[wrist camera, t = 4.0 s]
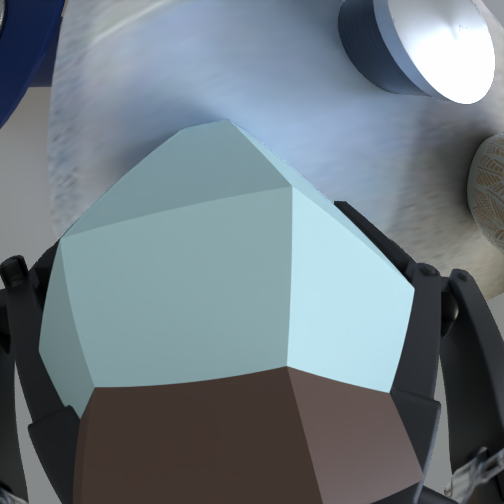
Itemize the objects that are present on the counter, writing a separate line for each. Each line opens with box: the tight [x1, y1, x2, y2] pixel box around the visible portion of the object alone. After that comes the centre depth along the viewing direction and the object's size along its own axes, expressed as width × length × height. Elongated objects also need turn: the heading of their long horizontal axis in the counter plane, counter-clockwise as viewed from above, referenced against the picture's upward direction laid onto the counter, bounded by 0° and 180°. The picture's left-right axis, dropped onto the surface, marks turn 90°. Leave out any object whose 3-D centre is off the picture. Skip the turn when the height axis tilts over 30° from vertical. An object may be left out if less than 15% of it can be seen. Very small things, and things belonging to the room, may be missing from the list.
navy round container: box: [338, 0, 494, 104], centre depth 15 cm, size 13×13×9 cm
